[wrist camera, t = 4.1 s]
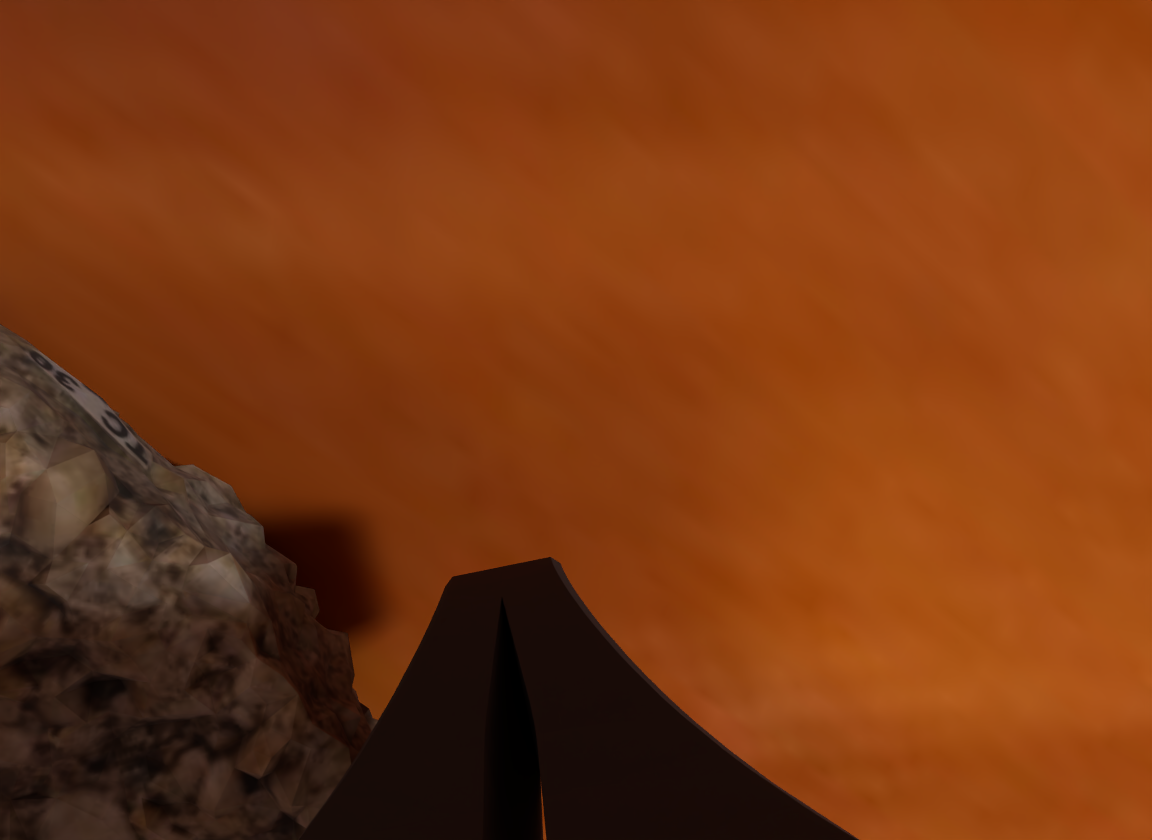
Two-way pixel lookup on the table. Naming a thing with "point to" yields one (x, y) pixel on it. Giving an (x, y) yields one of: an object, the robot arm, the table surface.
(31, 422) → the concrete sample
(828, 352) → the table surface
